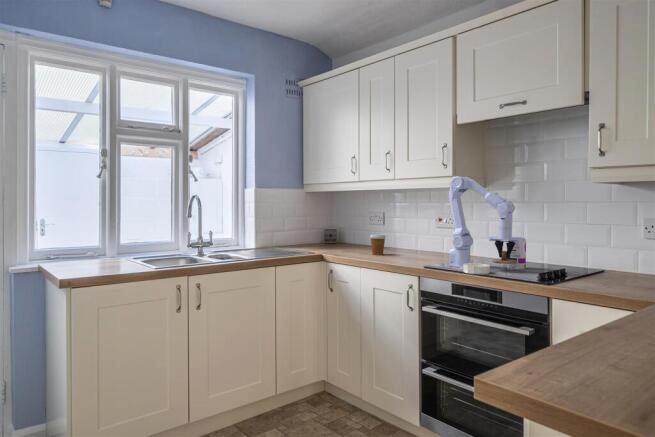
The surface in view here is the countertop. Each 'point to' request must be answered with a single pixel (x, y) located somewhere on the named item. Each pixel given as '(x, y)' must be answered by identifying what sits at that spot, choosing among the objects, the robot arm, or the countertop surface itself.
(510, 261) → the lid
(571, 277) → the countertop surface
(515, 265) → the supplement can
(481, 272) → the bowl
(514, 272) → the mat
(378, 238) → the disposable coffee cup
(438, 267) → the countertop surface
